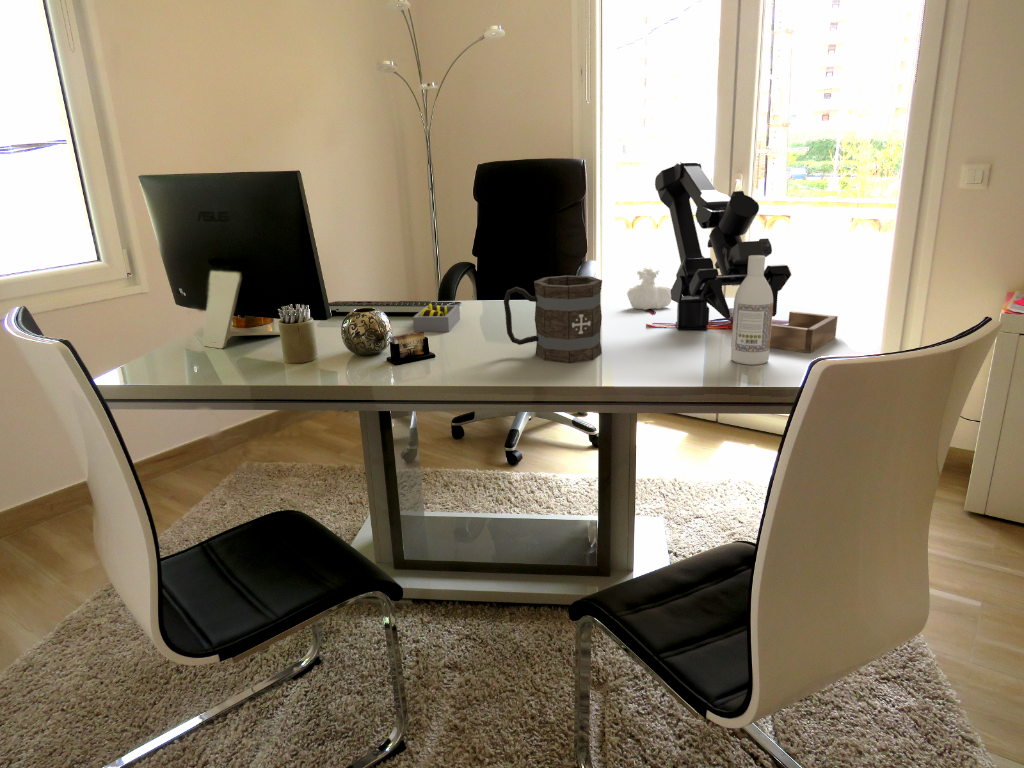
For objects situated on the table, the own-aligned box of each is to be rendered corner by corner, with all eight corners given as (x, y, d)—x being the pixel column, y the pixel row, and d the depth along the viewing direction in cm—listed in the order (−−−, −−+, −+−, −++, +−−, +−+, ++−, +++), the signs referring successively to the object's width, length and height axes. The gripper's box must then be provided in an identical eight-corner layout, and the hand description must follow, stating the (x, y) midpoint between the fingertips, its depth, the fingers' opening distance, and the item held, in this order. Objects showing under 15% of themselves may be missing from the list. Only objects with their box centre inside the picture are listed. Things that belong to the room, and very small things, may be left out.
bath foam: (774, 364, 136) (782, 257, 130) (737, 366, 136) (744, 259, 130) (760, 355, 143) (768, 252, 137) (725, 356, 143) (732, 254, 137)
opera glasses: (441, 330, 172) (440, 310, 170) (420, 331, 172) (418, 310, 171) (450, 321, 181) (448, 302, 179) (429, 321, 182) (428, 302, 180)
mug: (599, 345, 154) (600, 274, 150) (604, 362, 141) (604, 286, 137) (507, 346, 155) (505, 276, 151) (503, 364, 143) (500, 288, 138)
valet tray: (414, 331, 171) (413, 317, 170) (427, 319, 184) (426, 305, 183) (449, 331, 170) (448, 317, 169) (460, 319, 183) (459, 305, 181)
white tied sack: (670, 314, 191) (661, 276, 195) (679, 300, 184) (670, 262, 188) (625, 317, 190) (618, 278, 193) (633, 303, 183) (625, 264, 186)
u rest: (762, 346, 149) (764, 324, 148) (789, 331, 160) (791, 311, 159) (810, 353, 143) (812, 330, 142) (835, 337, 154) (837, 316, 153)
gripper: (697, 226, 136) (719, 294, 129) (790, 222, 139) (817, 289, 132) (680, 263, 146) (699, 328, 139) (767, 258, 149) (791, 322, 141)
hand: (751, 316), depth 137 cm, fingers open, 9 cm apart
